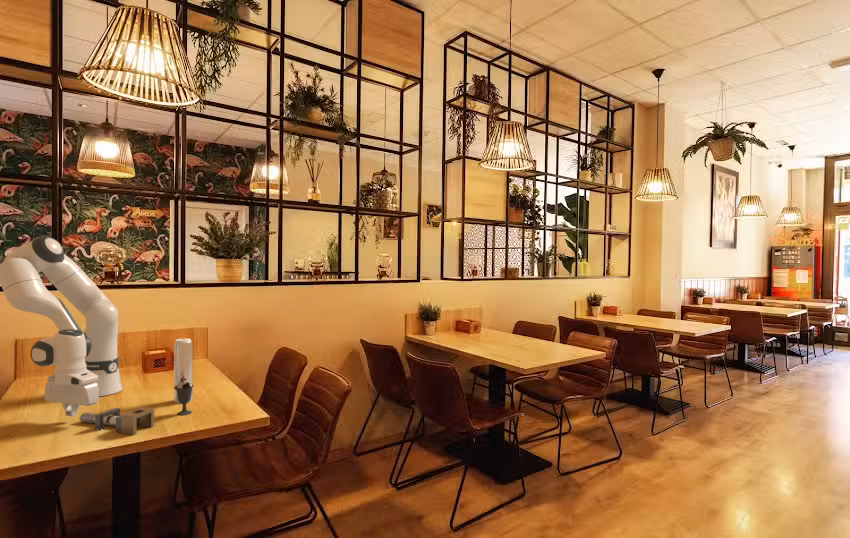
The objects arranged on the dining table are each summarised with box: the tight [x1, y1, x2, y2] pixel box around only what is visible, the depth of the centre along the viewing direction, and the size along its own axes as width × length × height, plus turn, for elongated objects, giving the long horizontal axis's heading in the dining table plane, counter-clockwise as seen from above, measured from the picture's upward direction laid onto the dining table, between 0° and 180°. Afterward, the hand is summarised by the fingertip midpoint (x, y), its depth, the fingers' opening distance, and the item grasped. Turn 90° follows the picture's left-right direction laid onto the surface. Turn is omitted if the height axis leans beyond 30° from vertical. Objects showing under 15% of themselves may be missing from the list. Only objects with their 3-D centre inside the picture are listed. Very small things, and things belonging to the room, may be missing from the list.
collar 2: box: [115, 413, 140, 434], centre depth 156 cm, size 2×8×5 cm, turn 166°
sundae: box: [173, 373, 195, 416], centre depth 172 cm, size 7×7×15 cm
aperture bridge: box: [120, 406, 155, 436], centre depth 155 cm, size 5×8×6 cm, turn 166°
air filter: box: [173, 338, 193, 404], centre depth 186 cm, size 6×6×25 cm
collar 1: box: [94, 407, 121, 431], centre depth 158 cm, size 2×8×5 cm, turn 166°
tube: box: [79, 412, 119, 427], centre depth 160 cm, size 18×3×3 cm
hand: (71, 415), depth 162 cm, fingers closed
